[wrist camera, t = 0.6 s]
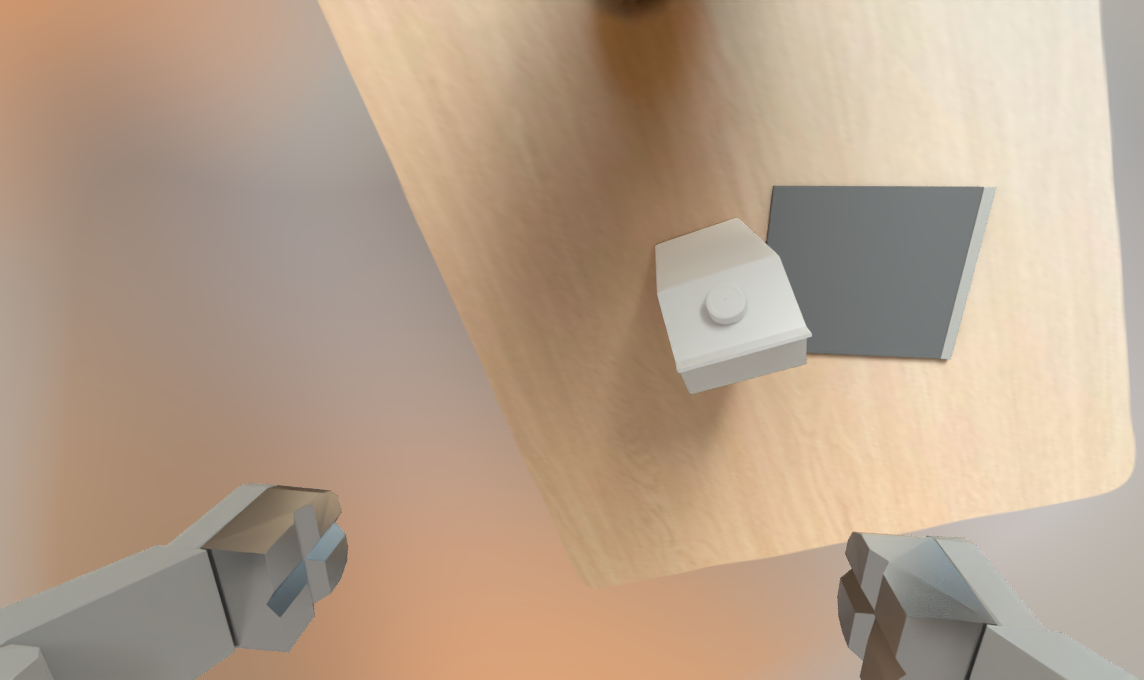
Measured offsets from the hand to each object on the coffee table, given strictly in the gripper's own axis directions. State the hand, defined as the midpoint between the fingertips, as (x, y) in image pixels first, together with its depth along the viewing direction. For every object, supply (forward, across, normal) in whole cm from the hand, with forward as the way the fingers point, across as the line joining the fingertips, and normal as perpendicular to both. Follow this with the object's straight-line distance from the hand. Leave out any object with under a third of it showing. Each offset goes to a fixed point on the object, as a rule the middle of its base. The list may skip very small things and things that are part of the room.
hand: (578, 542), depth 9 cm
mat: (+40, -19, +4) cm, 44 cm away
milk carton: (+40, -6, +4) cm, 40 cm away
